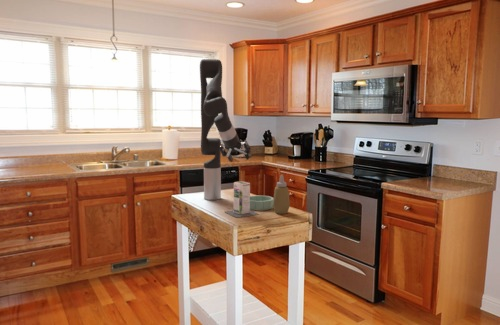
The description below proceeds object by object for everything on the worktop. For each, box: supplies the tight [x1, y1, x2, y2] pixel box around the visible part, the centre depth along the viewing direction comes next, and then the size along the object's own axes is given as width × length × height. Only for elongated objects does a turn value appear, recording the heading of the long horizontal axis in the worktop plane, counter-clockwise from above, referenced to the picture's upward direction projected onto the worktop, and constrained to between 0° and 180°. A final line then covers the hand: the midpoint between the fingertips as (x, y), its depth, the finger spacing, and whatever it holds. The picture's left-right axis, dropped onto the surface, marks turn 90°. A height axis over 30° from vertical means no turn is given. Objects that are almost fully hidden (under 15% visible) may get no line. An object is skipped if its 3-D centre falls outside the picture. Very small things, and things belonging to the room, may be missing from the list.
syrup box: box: [233, 181, 251, 215], centre depth 184 cm, size 6×6×14 cm
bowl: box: [250, 195, 274, 211], centre depth 198 cm, size 14×14×4 cm
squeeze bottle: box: [273, 174, 291, 215], centre depth 185 cm, size 8×8×18 cm
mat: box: [224, 210, 260, 219], centre depth 185 cm, size 12×12×1 cm
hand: (239, 159), depth 195 cm, fingers open, 8 cm apart
